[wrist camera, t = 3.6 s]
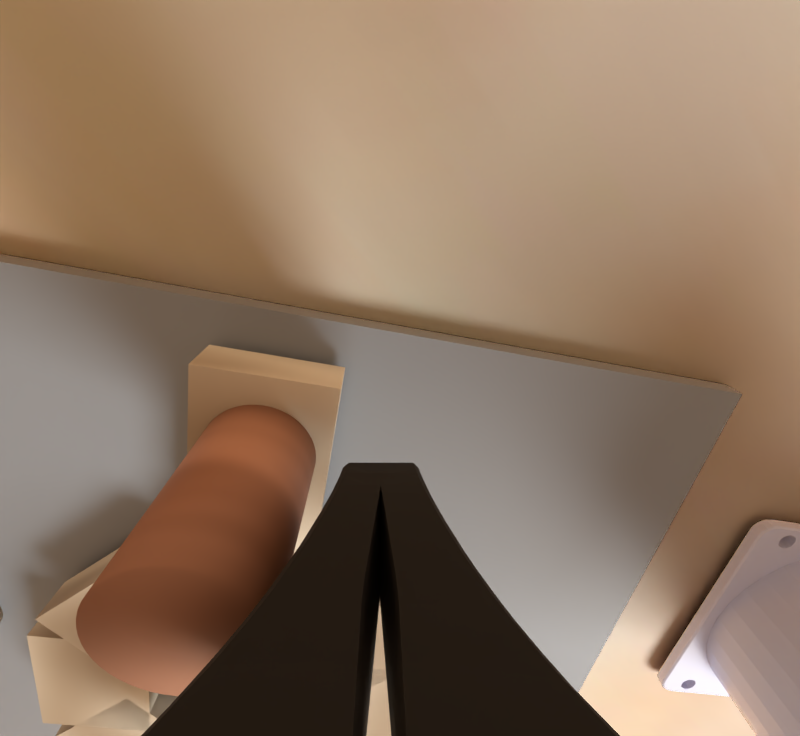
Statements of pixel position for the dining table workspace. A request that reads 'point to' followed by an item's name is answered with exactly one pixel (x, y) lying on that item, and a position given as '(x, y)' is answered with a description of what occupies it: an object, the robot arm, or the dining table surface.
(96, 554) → the post board
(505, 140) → the dining table surface
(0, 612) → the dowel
